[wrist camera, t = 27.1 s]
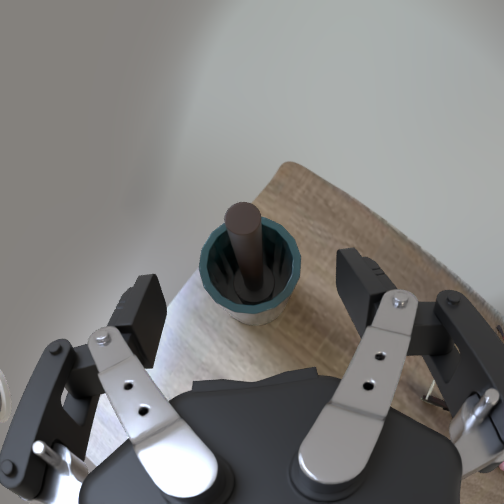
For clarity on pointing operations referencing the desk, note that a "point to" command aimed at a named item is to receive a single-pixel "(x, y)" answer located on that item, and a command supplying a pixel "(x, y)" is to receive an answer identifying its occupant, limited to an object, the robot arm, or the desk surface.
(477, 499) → the desk surface
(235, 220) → the brush
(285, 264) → the pencil holder
